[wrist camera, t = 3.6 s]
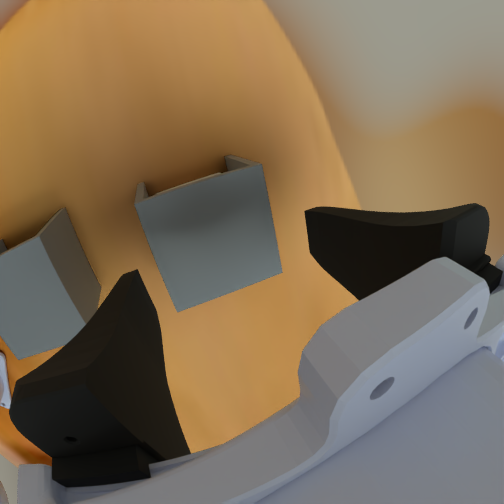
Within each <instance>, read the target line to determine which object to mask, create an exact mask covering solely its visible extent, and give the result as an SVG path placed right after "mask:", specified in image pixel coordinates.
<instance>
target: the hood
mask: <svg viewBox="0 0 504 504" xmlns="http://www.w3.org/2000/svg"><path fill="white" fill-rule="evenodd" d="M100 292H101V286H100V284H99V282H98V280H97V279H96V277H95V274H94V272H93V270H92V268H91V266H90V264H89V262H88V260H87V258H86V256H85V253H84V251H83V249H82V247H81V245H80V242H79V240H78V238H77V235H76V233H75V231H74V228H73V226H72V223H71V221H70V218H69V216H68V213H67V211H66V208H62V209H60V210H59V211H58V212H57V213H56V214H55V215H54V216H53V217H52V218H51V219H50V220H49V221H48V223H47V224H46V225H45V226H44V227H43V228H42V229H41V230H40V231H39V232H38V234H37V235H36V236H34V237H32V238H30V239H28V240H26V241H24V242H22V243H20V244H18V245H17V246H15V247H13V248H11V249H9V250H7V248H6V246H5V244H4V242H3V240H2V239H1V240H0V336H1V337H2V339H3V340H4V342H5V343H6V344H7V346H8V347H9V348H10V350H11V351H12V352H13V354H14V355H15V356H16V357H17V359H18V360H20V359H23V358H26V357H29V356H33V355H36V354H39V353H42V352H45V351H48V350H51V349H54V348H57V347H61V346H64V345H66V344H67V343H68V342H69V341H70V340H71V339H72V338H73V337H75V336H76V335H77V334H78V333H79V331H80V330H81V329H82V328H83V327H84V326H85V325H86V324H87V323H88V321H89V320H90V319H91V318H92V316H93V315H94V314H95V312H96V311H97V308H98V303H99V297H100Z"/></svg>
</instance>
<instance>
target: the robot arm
mask: <svg viewBox="0 0 504 504" xmlns="http://www.w3.org/2000/svg"><path fill="white" fill-rule="evenodd" d="M305 219H306V226H307V234H308V242H309V250H310V254H311V255H312V256H313V257H314V259H315V260H316V261H317V262H318V263H319V265H320V266H321V267H322V268H323V269H324V270H325V271H326V272H328V273H329V274H330V275H331V276H332V277H333V278H334V279H336V280H337V281H338V282H339V283H340V284H341V285H342V286H344V287H345V288H346V289H347V290H348V291H349V292H350V293H352V294H353V295H354V296H355V297H356V298H357V299H358V300H359V301H358V302H356V303H354V304H352V305H350V306H348V307H346V308H344V309H343V310H341V311H340V312H339V313H337V314H336V315H335V316H333V317H332V318H330V319H329V320H328V321H326V322H325V323H324V324H322V325H321V326H320V327H319V329H318V330H317V331H316V333H315V334H314V335H313V337H312V338H311V339H310V341H309V342H308V343H307V345H306V346H305V347H304V349H303V351H302V356H301V360H300V365H299V370H298V377H299V384H300V397H299V398H297V399H296V400H294V401H293V402H291V403H290V404H288V405H287V406H285V407H284V408H282V409H281V410H279V411H278V412H276V413H275V414H273V415H272V416H270V417H268V418H267V419H265V420H264V421H262V422H260V423H259V424H257V425H255V426H254V427H252V428H250V429H249V430H247V431H245V432H244V433H242V434H240V435H238V436H237V437H235V438H233V439H231V440H229V441H228V442H226V443H224V444H221V445H218V446H215V447H212V448H209V449H206V450H203V451H199V452H196V453H192V454H191V453H190V450H189V448H188V445H187V443H186V440H185V437H184V435H183V432H182V429H181V426H180V423H179V420H178V417H177V414H176V411H175V408H174V405H173V401H172V398H171V394H170V390H169V387H168V382H167V377H166V371H165V362H164V354H163V344H162V335H161V328H160V323H159V319H158V315H157V311H156V308H155V306H154V304H153V302H152V300H151V298H150V296H149V294H148V292H147V289H146V287H145V285H144V283H143V281H142V278H141V276H140V274H139V272H138V269H136V270H134V271H131V272H128V273H126V274H123V275H122V276H121V278H120V279H119V280H118V282H117V283H116V284H115V286H114V287H113V289H112V290H111V292H110V293H109V295H108V296H107V297H106V299H105V300H104V302H103V303H102V304H101V306H100V307H99V308H98V310H97V311H96V312H95V314H94V315H93V316H92V318H91V319H90V320H89V321H88V323H87V324H86V325H85V326H84V327H83V328H82V329H81V330H80V331H79V333H78V334H77V335H76V336H75V337H73V338H72V339H71V340H70V341H69V342H68V343H67V344H66V345H65V346H64V347H63V348H62V349H61V350H60V351H58V352H57V353H56V354H55V355H53V356H52V357H51V358H50V359H48V360H47V361H46V362H44V363H43V364H42V365H40V366H39V367H37V368H36V369H34V370H33V371H31V372H30V373H28V374H27V375H25V376H23V377H22V378H20V379H19V380H17V381H16V384H15V388H14V392H13V396H12V400H11V395H10V389H9V382H8V375H7V367H6V358H5V356H4V354H3V353H1V352H0V406H3V407H5V408H8V409H9V415H10V418H11V421H12V422H13V424H14V425H15V427H16V428H17V430H18V431H19V432H20V433H21V434H22V435H23V436H24V437H26V438H27V439H28V440H29V441H31V442H32V443H33V444H34V445H36V446H37V447H38V448H40V449H41V450H42V451H44V452H45V453H46V454H48V455H49V456H50V457H52V467H51V466H48V465H45V464H21V465H19V469H18V491H17V494H18V495H17V504H504V255H503V256H502V257H501V258H500V259H499V260H498V261H497V263H496V265H495V266H493V265H491V264H490V263H489V262H490V261H491V258H490V256H488V255H486V254H485V249H486V244H487V239H488V233H489V216H488V212H487V210H486V208H485V207H483V206H481V205H479V204H476V203H473V204H467V205H462V206H458V207H453V208H448V209H442V210H435V211H426V212H408V213H407V212H406V213H396V212H375V211H364V210H355V209H346V208H337V207H315V208H312V209H309V210H306V211H305ZM0 504H9V503H8V498H7V494H6V492H5V490H4V487H3V485H2V483H1V481H0Z"/></svg>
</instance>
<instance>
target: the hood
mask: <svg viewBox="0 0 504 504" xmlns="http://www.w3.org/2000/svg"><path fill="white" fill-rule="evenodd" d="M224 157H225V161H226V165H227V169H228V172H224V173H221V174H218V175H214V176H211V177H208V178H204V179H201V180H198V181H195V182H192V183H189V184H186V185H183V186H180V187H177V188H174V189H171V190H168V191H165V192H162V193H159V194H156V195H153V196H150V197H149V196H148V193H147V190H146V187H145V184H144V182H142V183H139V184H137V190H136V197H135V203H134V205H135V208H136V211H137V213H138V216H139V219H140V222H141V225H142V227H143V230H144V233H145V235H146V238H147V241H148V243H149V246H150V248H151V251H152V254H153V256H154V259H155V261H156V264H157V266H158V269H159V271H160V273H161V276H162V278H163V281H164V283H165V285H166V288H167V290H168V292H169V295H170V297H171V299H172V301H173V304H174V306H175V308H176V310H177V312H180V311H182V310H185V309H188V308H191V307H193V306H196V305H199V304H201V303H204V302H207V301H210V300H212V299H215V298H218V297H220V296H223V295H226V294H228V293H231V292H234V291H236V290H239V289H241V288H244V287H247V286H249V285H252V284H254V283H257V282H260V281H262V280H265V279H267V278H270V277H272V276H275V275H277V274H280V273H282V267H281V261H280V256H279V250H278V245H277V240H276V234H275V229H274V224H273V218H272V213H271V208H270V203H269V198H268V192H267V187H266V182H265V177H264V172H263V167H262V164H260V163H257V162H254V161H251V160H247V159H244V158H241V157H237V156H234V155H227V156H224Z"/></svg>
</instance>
